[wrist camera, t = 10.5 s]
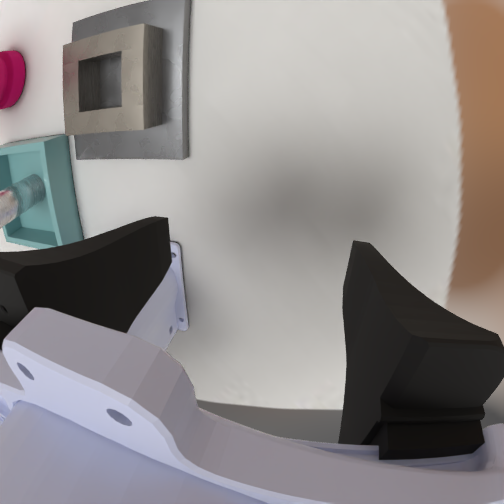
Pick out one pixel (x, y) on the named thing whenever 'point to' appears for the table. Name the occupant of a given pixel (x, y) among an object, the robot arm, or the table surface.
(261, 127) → the table surface
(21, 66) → the pepper mill
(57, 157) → the tray
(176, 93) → the hitch plate
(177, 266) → the robot arm
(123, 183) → the table surface
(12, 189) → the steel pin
